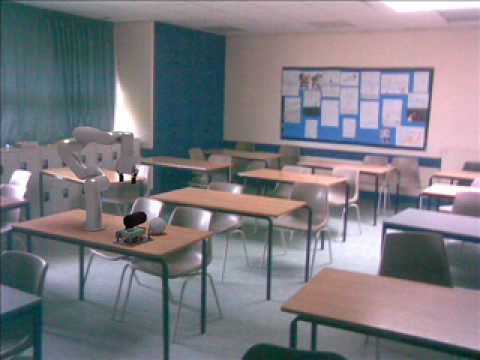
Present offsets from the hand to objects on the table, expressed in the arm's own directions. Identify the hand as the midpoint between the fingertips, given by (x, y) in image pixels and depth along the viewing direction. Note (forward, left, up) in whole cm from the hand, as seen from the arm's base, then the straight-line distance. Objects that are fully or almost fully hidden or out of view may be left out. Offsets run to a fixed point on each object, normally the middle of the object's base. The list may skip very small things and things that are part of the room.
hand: (127, 182), depth 313 cm
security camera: (-3, +8, -31) cm, 32 cm away
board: (+15, -11, -26) cm, 32 cm away
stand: (+2, -5, -30) cm, 31 cm away
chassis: (+15, -11, -30) cm, 36 cm away
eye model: (+14, +10, -31) cm, 35 cm away
